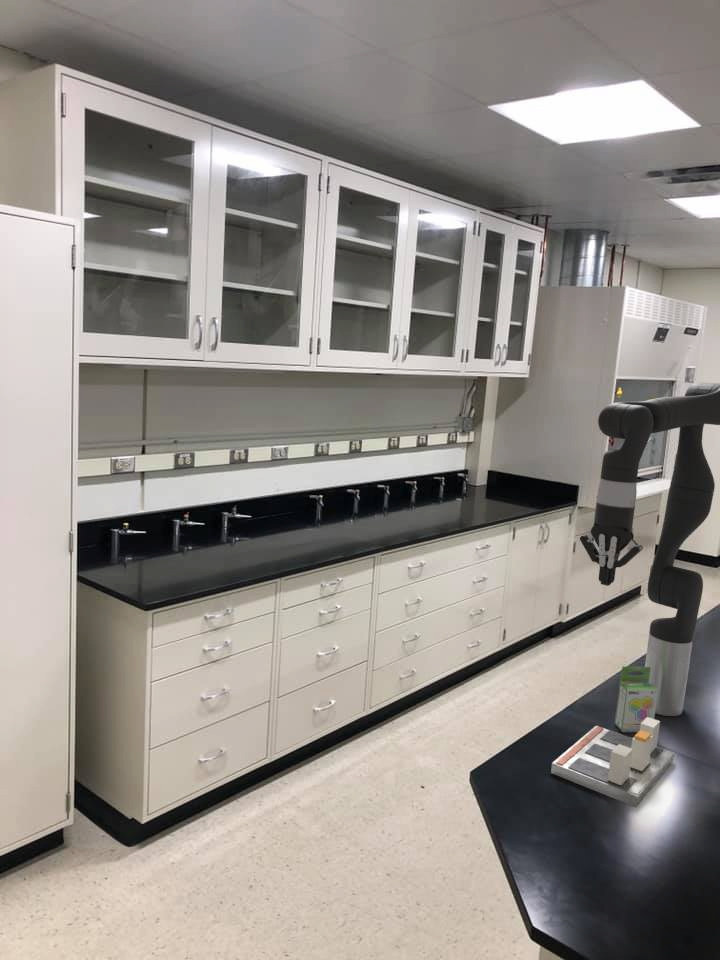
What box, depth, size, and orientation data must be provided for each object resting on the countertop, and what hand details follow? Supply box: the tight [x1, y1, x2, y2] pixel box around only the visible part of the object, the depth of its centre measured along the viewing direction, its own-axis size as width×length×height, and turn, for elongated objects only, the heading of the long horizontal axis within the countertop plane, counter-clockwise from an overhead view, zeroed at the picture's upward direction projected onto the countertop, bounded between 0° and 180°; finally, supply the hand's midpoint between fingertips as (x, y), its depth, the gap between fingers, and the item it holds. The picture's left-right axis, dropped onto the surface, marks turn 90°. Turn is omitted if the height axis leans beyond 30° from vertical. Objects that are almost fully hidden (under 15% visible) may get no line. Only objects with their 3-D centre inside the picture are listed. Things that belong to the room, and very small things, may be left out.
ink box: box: [614, 665, 658, 733], centre depth 164 cm, size 7×4×13 cm, turn 98°
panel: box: [550, 725, 675, 808], centre depth 148 cm, size 22×16×2 cm
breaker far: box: [640, 717, 661, 754], centre depth 151 cm, size 4×2×6 cm, turn 142°
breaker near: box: [608, 744, 633, 785], centre depth 139 cm, size 4×2×6 cm, turn 142°
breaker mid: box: [630, 730, 653, 771], centre depth 144 cm, size 4×2×6 cm, turn 142°
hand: (605, 584), depth 159 cm, fingers closed
